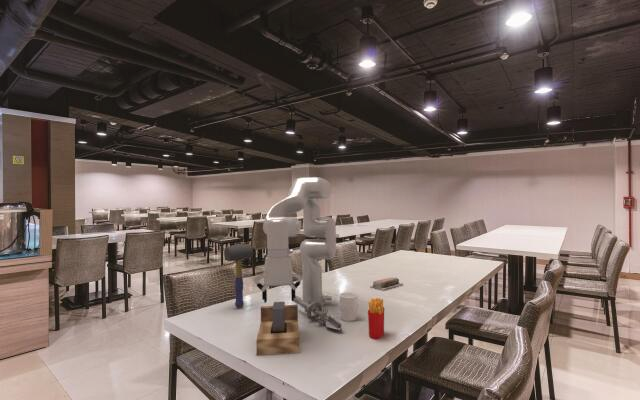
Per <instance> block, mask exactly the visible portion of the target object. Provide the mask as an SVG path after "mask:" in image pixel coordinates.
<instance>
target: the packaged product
mask: <svg viewBox="0 0 640 400" xmlns="http://www.w3.org/2000/svg"><path fill="white" fill-rule="evenodd" d="M402 285H403V286H404V283H402V282H401V283H400V279H399V278H398V277H387V278H383V279H379V280H374V281H373V283H372V285H370V289H373V288H374V289H373V290H377V291H382V292H385V290H386V291H389V289H390V290H393V289H397V288H400V287H399V286H401V287H403V286H402ZM396 287H397V288H396ZM392 288H393V289H392Z"/></svg>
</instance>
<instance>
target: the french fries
mask: <svg viewBox="0 0 640 400" xmlns="http://www.w3.org/2000/svg"><path fill="white" fill-rule="evenodd" d="M368 308H369V309H368V310H367V319H368V322H367V323H368V337H369V338H370V339H373V340H378V339H379V340H380V339H381V338H382V337H383V336H384V335H385V307H384V299H383V298H380V297H375V298H370V300H369V301H368Z"/></svg>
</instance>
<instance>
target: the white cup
mask: <svg viewBox="0 0 640 400" xmlns="http://www.w3.org/2000/svg"><path fill="white" fill-rule="evenodd" d="M338 297H339V308H340V309H339V311H340V319H341V320H342V321H345V322H354V321H356V320H357V318H358V306H359V304H358V303H359V295H358V294H357V293H355V292H347V291H346V292H341V293H339V295H338Z"/></svg>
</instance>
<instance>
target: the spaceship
mask: <svg viewBox="0 0 640 400" xmlns="http://www.w3.org/2000/svg"><path fill="white" fill-rule="evenodd" d="M302 300H303V298H301V297H300V296H298V295H295V298H294V301H293V302H294V303H295V304H296V305H299V306H300V304H301V305H302V306H301V307H302V308H303V309H304V312H305V313H306V316H307V318H308V320H310V321H316V320H317V319H318V323H317V324H319V325H320V326H321V327H323V326H324V324H325V326H326V328H330V329H334V330H338V331H342V328H343V327H344V325H343V324H342V322H341V320H340V319H339V318H338V317H337V316H336V317H335V316H332V315H330V314H328V313H329V309H328V308H326V307H325V306H322V305H321V303H319V302H313V303H312V304H310V301H308V302H303V301H302ZM315 306H316V307H318V308H316V307H315ZM314 307H315V308H314Z"/></svg>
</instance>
